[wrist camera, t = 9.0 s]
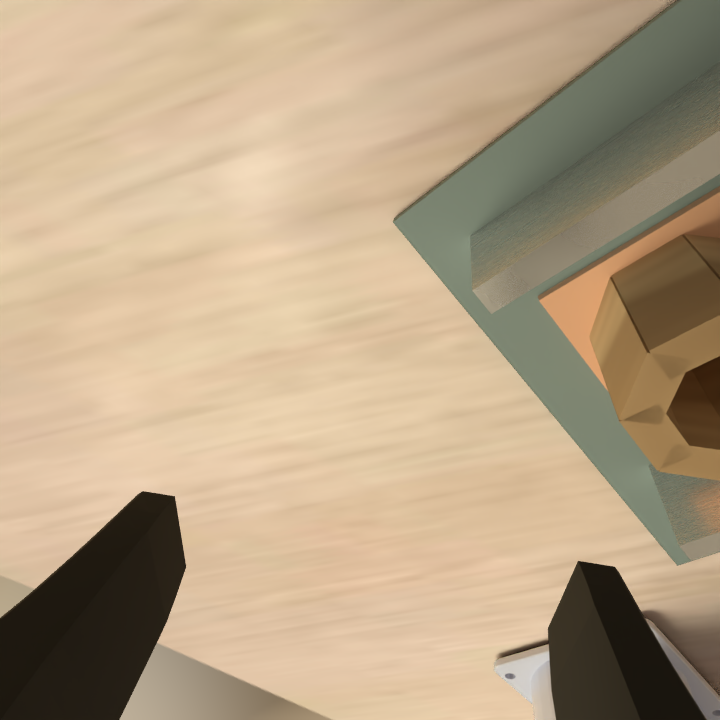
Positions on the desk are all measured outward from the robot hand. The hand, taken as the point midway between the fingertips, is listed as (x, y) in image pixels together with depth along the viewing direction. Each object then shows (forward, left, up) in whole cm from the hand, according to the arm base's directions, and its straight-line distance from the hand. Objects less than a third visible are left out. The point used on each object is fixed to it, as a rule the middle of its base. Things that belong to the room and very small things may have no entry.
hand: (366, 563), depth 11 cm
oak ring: (-5, -7, -9) cm, 12 cm away
